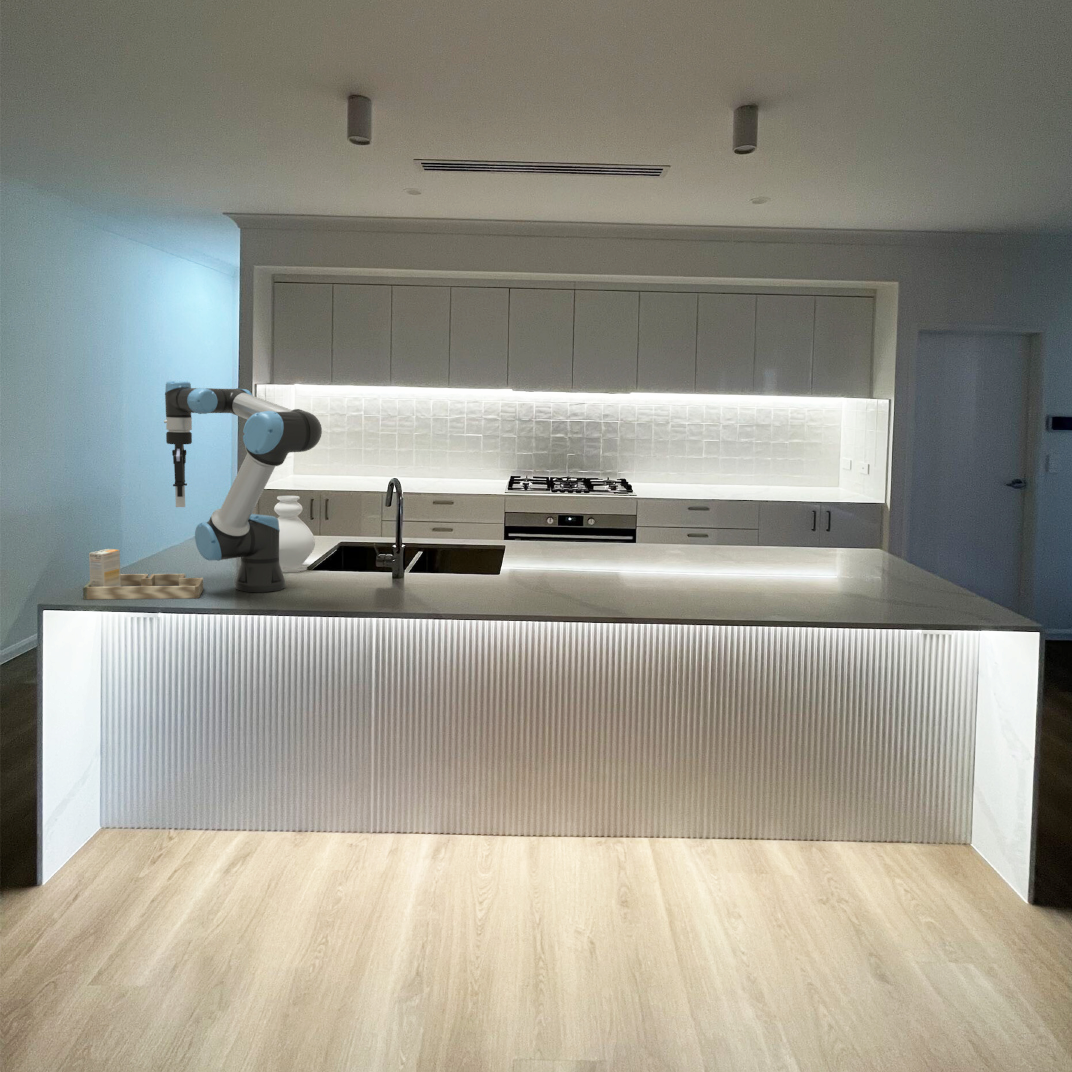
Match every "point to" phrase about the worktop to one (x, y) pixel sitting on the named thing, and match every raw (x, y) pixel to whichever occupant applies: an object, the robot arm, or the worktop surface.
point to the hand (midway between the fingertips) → (180, 506)
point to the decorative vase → (293, 535)
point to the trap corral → (148, 587)
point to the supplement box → (105, 568)
